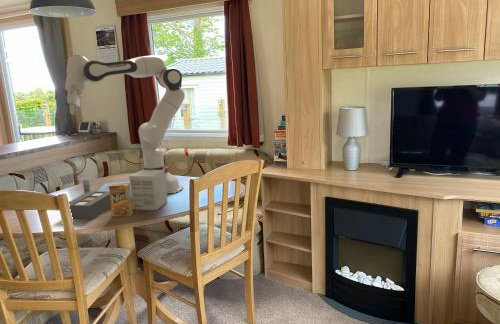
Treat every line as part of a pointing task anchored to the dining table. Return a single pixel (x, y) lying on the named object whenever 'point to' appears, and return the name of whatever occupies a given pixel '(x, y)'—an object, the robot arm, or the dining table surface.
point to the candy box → (120, 199)
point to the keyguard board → (90, 205)
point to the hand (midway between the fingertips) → (72, 114)
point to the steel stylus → (86, 185)
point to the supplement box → (148, 189)
